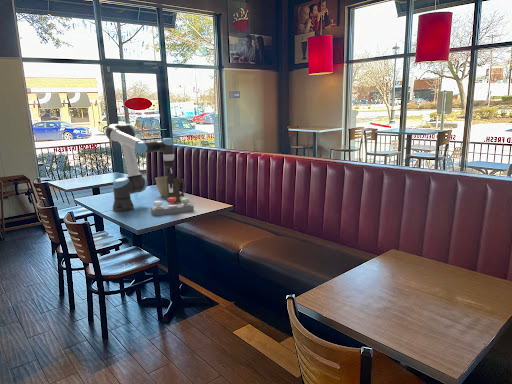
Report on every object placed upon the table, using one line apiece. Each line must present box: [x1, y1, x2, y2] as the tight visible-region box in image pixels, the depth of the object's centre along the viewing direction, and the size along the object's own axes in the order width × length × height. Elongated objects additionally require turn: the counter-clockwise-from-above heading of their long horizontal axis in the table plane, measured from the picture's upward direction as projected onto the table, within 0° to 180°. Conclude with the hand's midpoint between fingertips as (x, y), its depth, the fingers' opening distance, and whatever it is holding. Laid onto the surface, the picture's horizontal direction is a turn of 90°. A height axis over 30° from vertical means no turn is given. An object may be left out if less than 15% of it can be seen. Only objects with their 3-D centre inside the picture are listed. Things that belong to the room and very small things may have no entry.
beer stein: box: [166, 176, 186, 203], centre depth 308 cm, size 15×11×20 cm
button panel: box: [150, 202, 195, 217], centre depth 273 cm, size 29×10×4 cm, turn 115°
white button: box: [153, 200, 163, 208], centre depth 268 cm, size 6×6×4 cm
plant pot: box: [155, 176, 167, 197], centre depth 328 cm, size 15×15×16 cm
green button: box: [180, 197, 191, 204], centre depth 276 cm, size 6×6×4 cm
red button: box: [167, 197, 176, 205], centre depth 272 cm, size 6×6×4 cm
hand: (171, 192), depth 270 cm, fingers closed
